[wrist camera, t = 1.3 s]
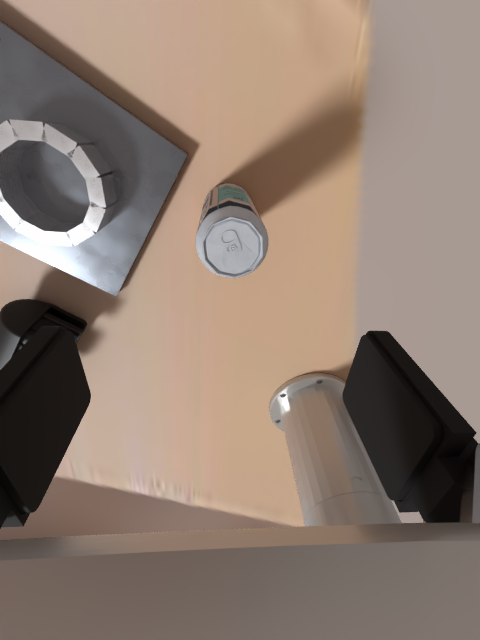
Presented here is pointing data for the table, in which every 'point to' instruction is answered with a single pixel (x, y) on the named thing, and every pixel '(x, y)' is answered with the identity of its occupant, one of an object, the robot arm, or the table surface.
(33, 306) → the end cap
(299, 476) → the robot arm
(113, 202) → the grey square plate
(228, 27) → the table surface
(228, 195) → the beer can
